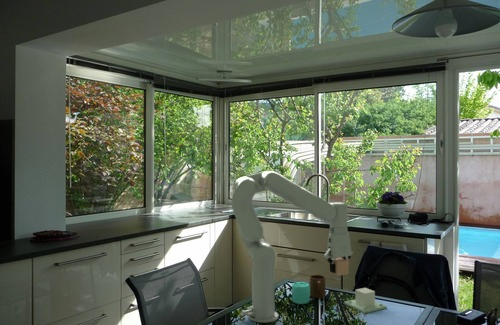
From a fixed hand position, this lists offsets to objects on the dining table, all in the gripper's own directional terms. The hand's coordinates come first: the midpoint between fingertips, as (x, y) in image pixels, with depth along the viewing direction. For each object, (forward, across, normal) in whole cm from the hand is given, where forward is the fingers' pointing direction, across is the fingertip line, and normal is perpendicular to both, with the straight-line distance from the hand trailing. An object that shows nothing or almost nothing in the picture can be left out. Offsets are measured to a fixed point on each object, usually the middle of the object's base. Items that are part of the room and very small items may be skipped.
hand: (338, 271), depth 176 cm
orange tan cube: (+1, 0, 0) cm, 1 cm away
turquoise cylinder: (+18, -8, +18) cm, 26 cm away
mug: (+18, +2, +18) cm, 25 cm away
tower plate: (+17, +14, -1) cm, 22 cm away
